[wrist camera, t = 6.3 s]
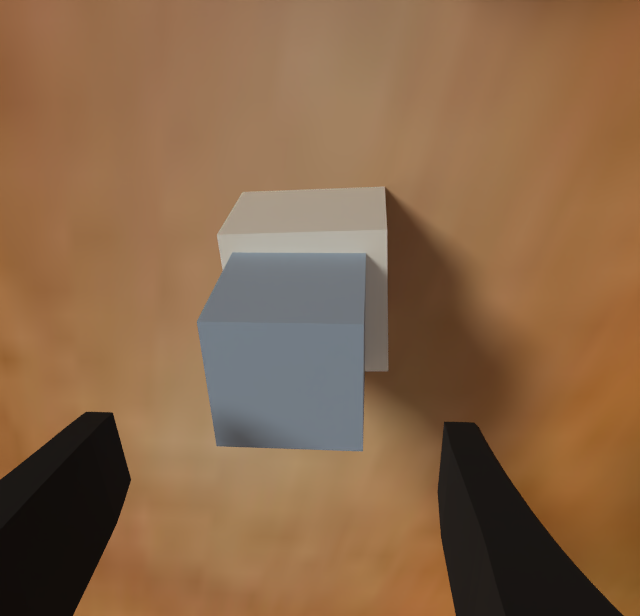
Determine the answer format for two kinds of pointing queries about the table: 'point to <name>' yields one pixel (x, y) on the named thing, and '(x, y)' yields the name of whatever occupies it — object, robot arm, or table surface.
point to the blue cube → (287, 351)
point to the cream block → (320, 241)
